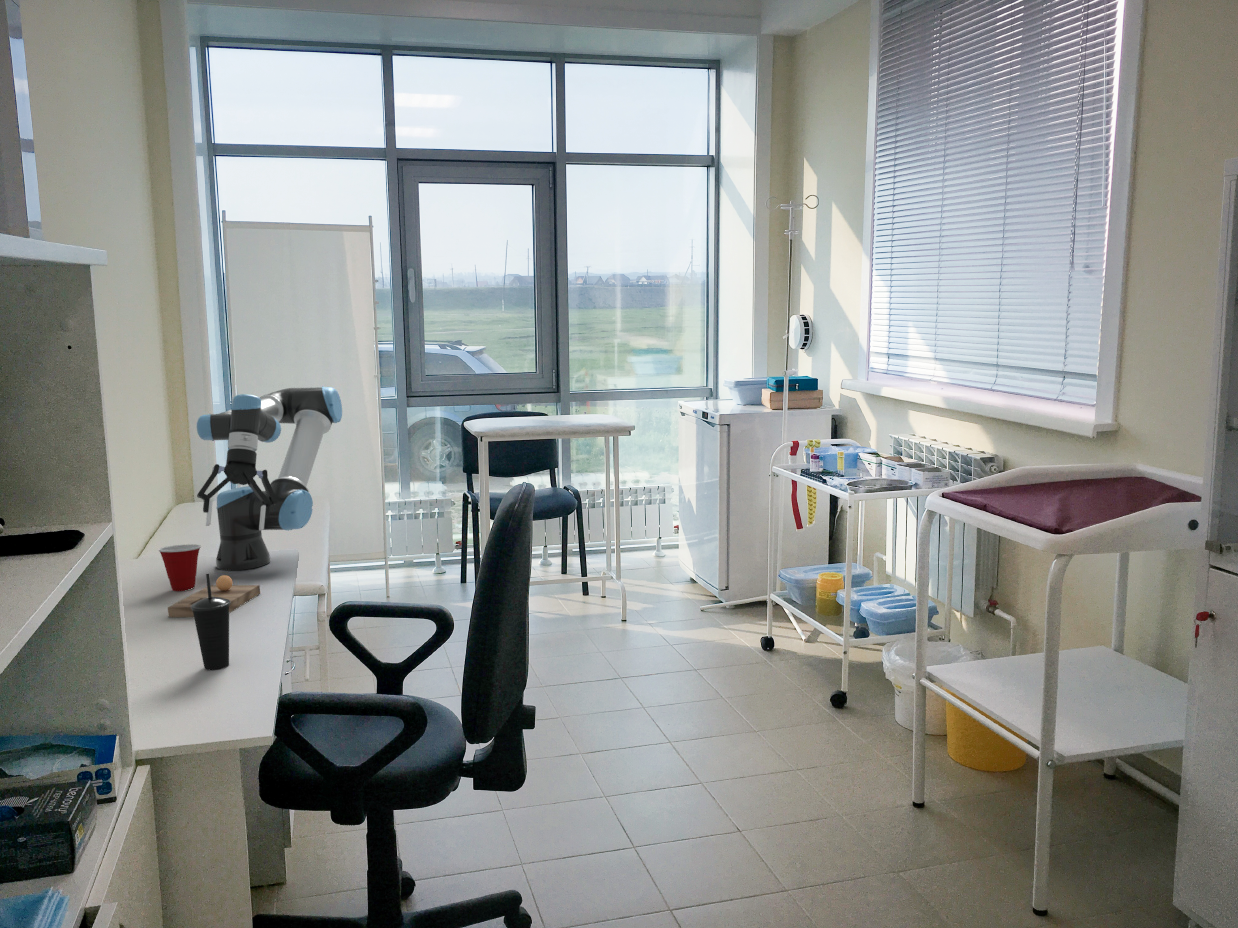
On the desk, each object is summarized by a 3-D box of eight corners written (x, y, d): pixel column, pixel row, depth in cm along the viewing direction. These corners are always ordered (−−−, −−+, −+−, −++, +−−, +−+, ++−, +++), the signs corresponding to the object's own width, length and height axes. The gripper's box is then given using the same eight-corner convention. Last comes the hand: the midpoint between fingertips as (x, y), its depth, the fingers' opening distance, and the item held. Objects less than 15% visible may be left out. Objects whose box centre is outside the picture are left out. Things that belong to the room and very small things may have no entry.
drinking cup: (212, 675, 201) (202, 580, 198) (189, 669, 205) (179, 576, 202) (244, 663, 208) (235, 571, 205) (221, 657, 212) (212, 567, 209)
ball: (221, 588, 259) (220, 573, 259) (236, 588, 259) (234, 573, 258) (213, 592, 255) (212, 577, 255) (228, 592, 255) (226, 577, 254)
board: (210, 594, 263) (209, 585, 263) (260, 594, 261) (259, 585, 261) (168, 617, 243) (167, 607, 243) (222, 617, 242) (221, 607, 241)
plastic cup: (212, 582, 275) (208, 541, 273) (192, 593, 264) (187, 550, 262) (175, 583, 276) (171, 541, 274) (154, 594, 265) (149, 550, 264)
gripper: (195, 441, 259) (187, 520, 254) (292, 453, 272) (286, 529, 267) (191, 447, 265) (182, 525, 260) (285, 459, 278) (279, 533, 273)
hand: (235, 527), depth 264 cm, fingers open, 13 cm apart
